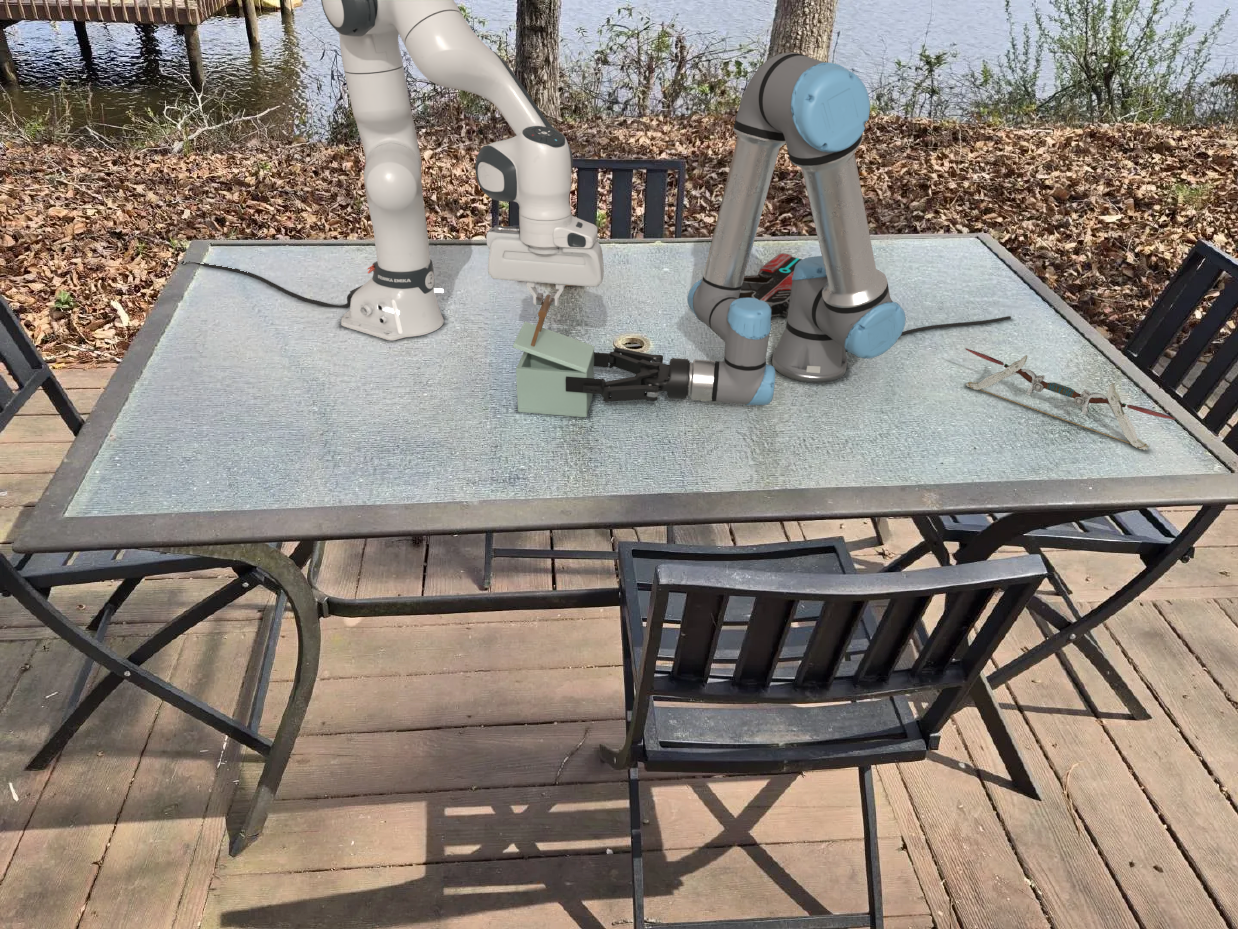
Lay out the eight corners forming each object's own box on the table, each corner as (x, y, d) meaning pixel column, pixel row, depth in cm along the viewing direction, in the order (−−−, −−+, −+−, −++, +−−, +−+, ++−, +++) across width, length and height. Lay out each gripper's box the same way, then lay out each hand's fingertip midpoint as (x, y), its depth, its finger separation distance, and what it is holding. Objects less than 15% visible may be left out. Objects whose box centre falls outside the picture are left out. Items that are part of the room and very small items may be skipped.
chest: (517, 412, 165) (515, 368, 159) (528, 387, 173) (526, 345, 168) (586, 417, 164) (586, 373, 158) (593, 392, 172) (594, 349, 166)
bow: (1161, 452, 158) (1183, 404, 152) (1158, 456, 157) (1180, 408, 151) (958, 380, 179) (970, 335, 174) (954, 383, 178) (966, 338, 173)
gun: (708, 284, 207) (784, 305, 199) (760, 245, 229) (831, 262, 221) (706, 302, 209) (781, 323, 201) (758, 261, 231) (828, 278, 223)
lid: (512, 347, 157) (524, 307, 153) (523, 324, 165) (535, 286, 161) (586, 373, 158) (599, 334, 154) (593, 349, 166) (606, 311, 162)
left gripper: (481, 230, 148) (485, 307, 155) (601, 239, 146) (599, 316, 154) (490, 218, 153) (493, 292, 161) (606, 227, 151) (604, 301, 159)
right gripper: (685, 428, 155) (560, 418, 157) (690, 369, 174) (579, 361, 175) (688, 390, 151) (560, 381, 153) (693, 335, 169) (579, 327, 171)
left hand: (546, 304), depth 157 cm, fingers closed, pressing on lid
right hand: (570, 370), depth 164 cm, fingers closed on chest, 10 cm apart
